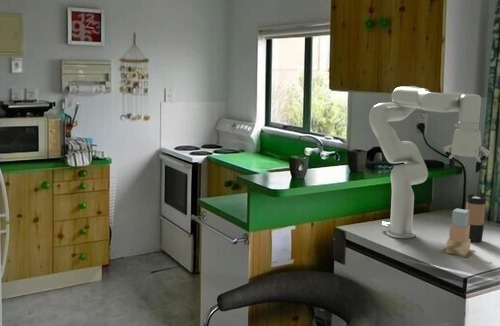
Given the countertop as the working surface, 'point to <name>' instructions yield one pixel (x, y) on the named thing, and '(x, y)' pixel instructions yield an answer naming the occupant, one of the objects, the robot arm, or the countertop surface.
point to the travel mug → (476, 217)
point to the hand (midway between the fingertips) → (464, 170)
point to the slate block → (460, 217)
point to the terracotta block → (459, 233)
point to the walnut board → (457, 254)
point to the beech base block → (458, 247)
